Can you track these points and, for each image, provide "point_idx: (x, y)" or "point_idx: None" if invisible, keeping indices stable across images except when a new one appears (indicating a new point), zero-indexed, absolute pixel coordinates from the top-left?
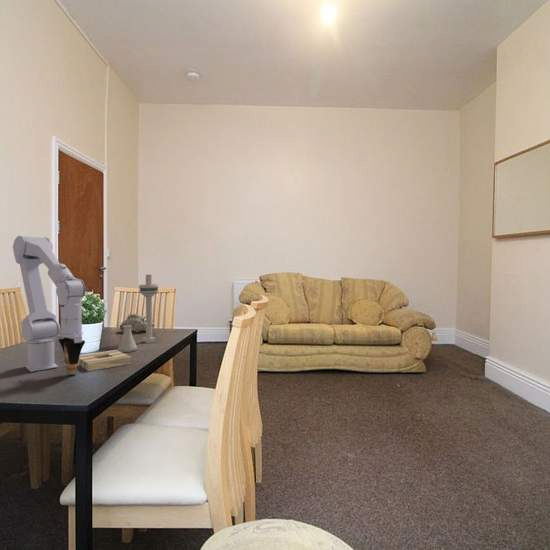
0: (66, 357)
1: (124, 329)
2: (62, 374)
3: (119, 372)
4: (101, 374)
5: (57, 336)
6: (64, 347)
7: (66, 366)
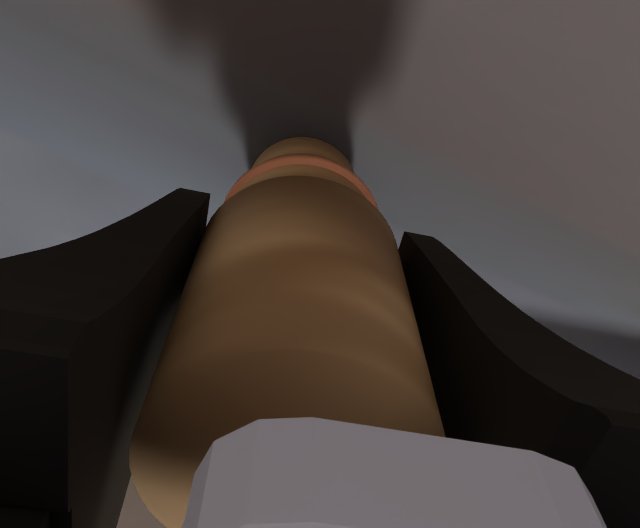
0: (253, 212)
1: None
2: (426, 132)
3: None
4: None
5: (304, 424)
6: (322, 317)
7: (283, 158)
